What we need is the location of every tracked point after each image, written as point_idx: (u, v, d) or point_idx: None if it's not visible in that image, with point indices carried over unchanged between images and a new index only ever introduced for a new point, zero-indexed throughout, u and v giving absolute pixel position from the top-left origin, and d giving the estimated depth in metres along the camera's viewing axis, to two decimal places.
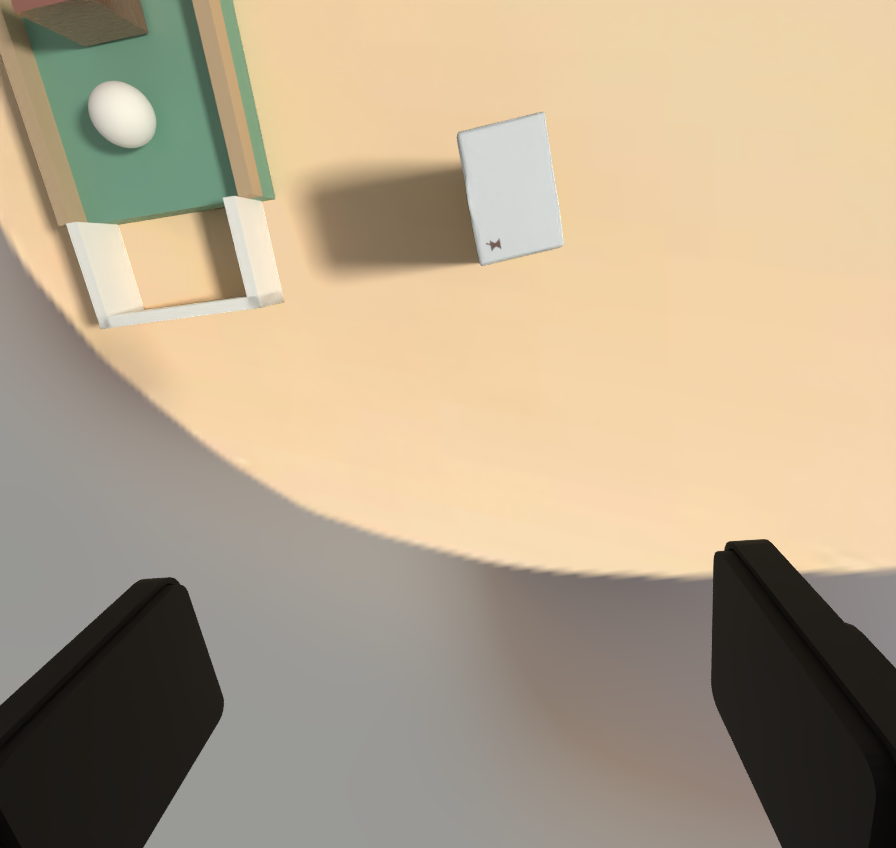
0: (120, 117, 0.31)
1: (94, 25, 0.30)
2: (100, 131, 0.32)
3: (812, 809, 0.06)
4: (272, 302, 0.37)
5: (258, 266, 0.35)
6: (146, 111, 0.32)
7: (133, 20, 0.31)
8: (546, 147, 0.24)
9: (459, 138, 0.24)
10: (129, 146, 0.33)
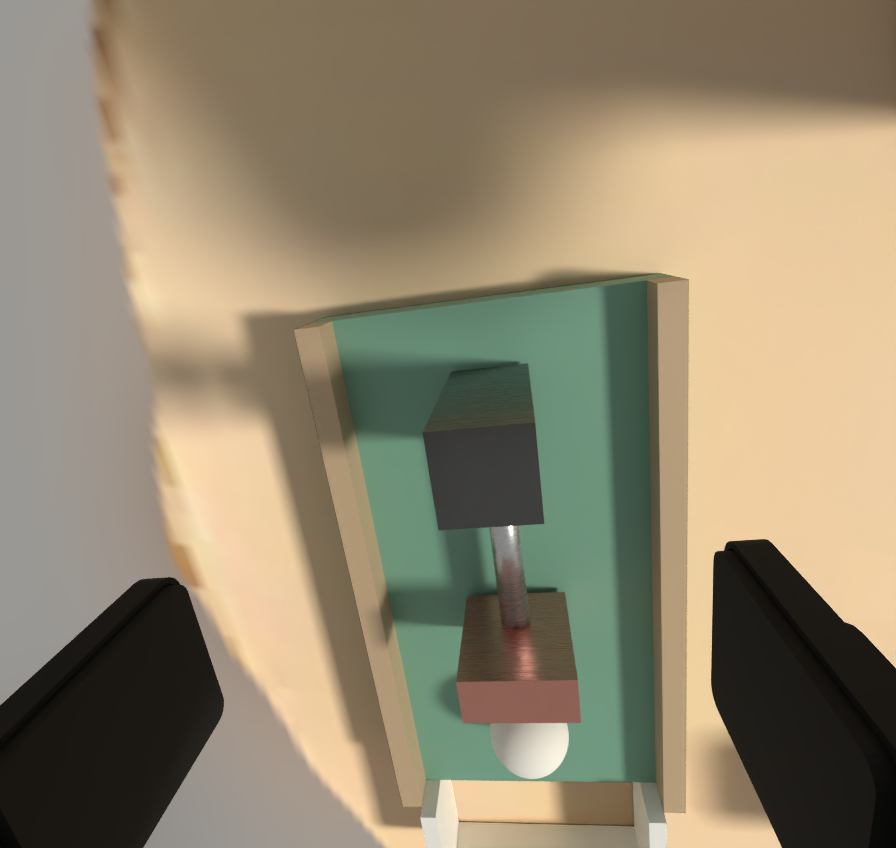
0: (548, 772, 0.23)
1: None
2: (509, 770, 0.24)
3: (812, 809, 0.06)
4: None
5: None
6: (568, 739, 0.24)
7: None
8: None
9: None
10: None
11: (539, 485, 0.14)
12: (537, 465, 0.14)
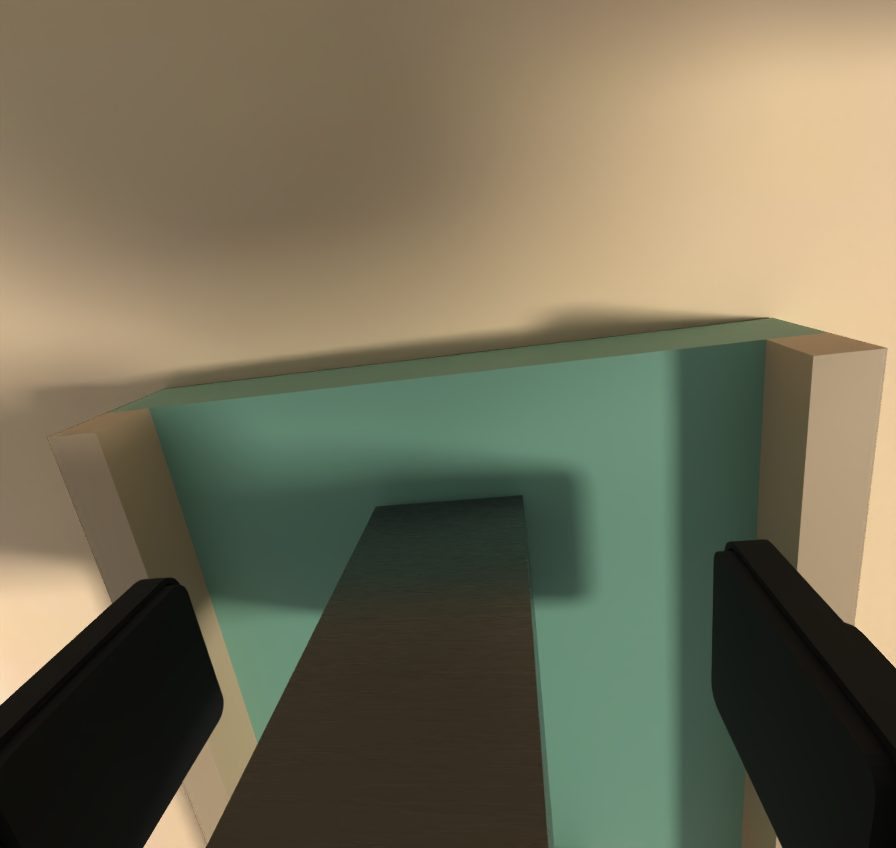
0: None
1: None
2: None
3: (812, 808, 0.06)
4: None
5: None
6: None
7: None
8: None
9: None
10: None
11: None
12: None
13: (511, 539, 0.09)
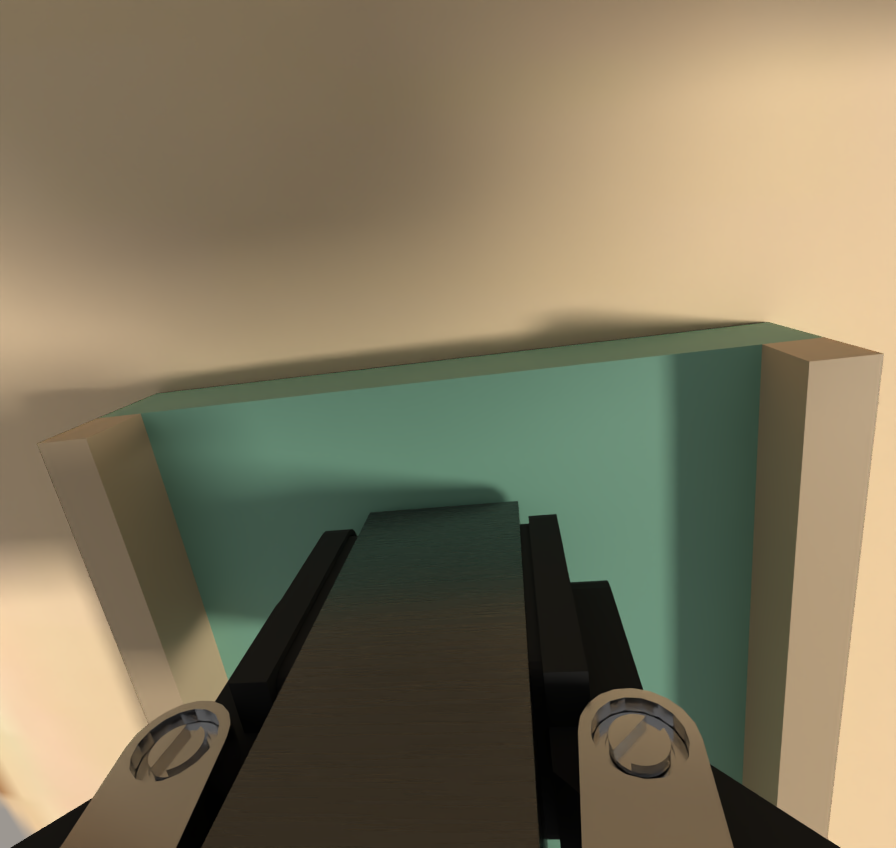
0: None
1: None
2: None
3: None
4: None
5: None
6: None
7: None
8: None
9: None
10: None
11: None
12: None
13: (506, 546, 0.09)
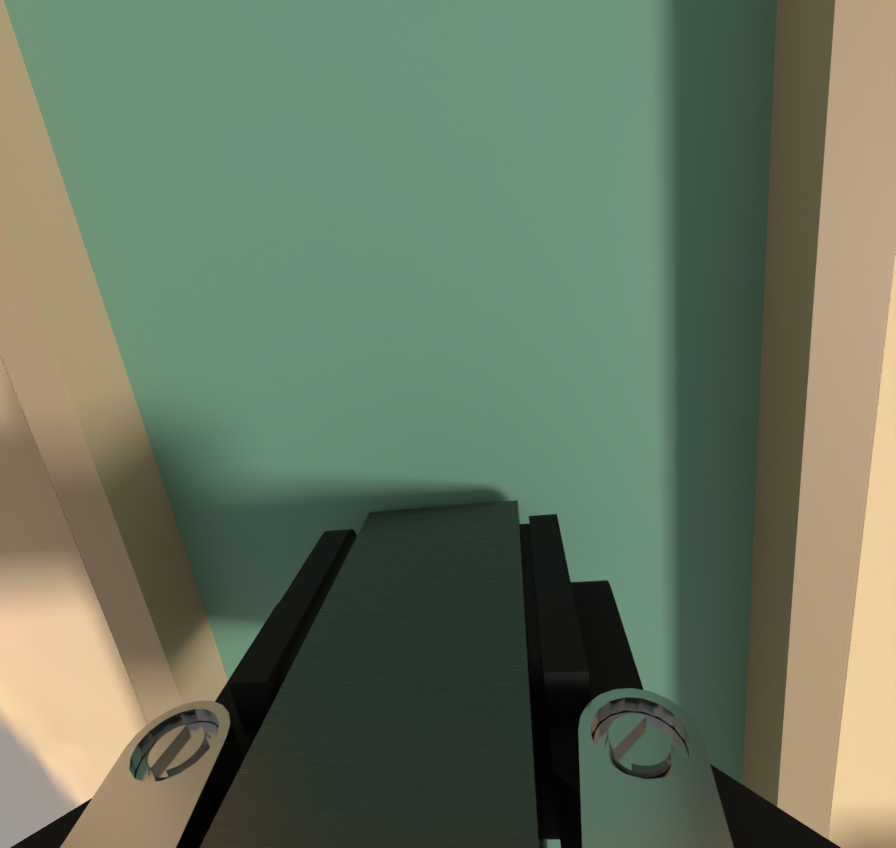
0: None
1: None
2: None
3: None
4: None
5: None
6: None
7: None
8: None
9: None
10: None
11: None
12: None
13: (505, 545, 0.09)
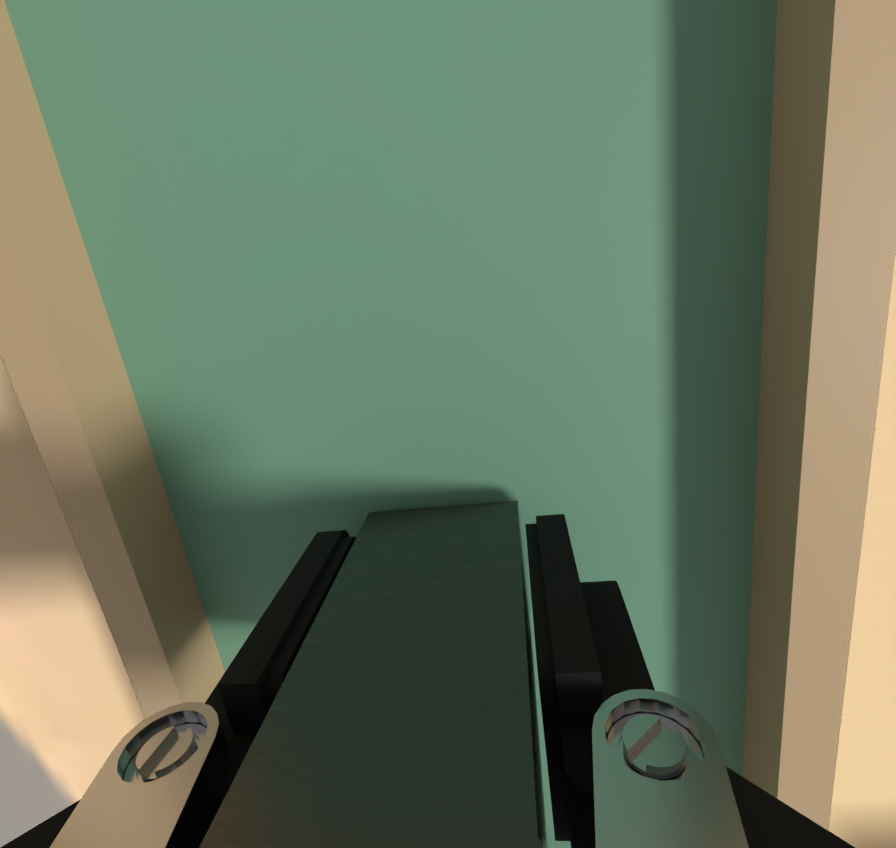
0: None
1: None
2: None
3: None
4: None
5: None
6: None
7: None
8: None
9: None
10: None
11: None
12: None
13: (505, 546, 0.09)
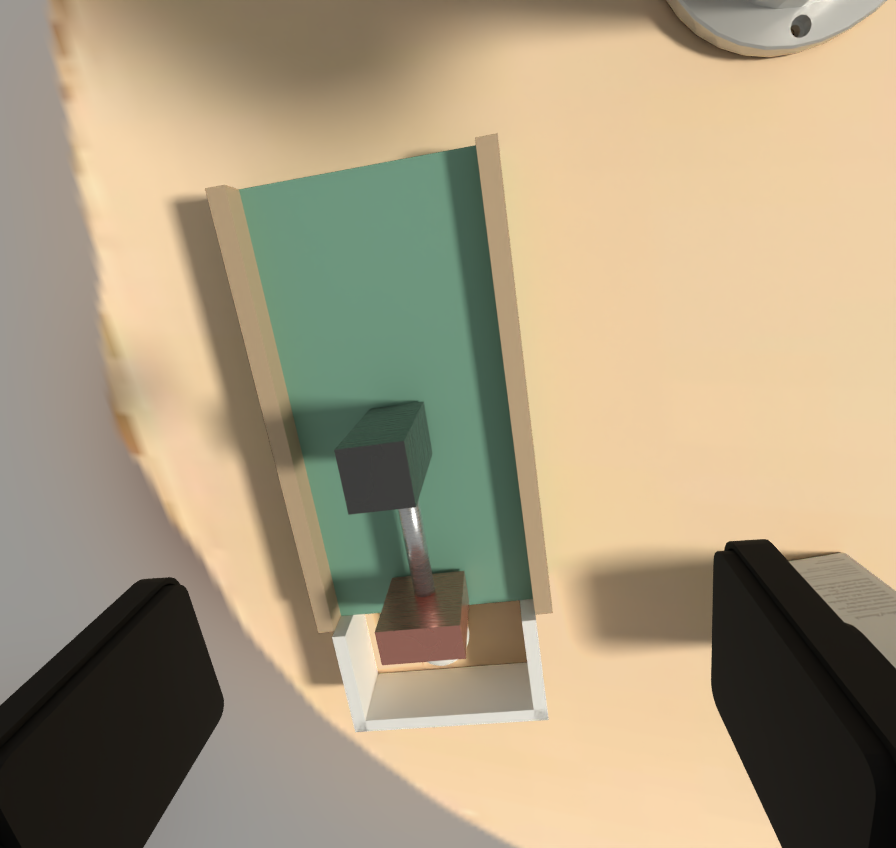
0: None
1: None
2: None
3: (812, 809, 0.06)
4: None
5: None
6: None
7: (467, 611, 0.30)
8: None
9: None
10: None
11: (410, 481, 0.22)
12: (407, 468, 0.22)
13: (415, 409, 0.27)
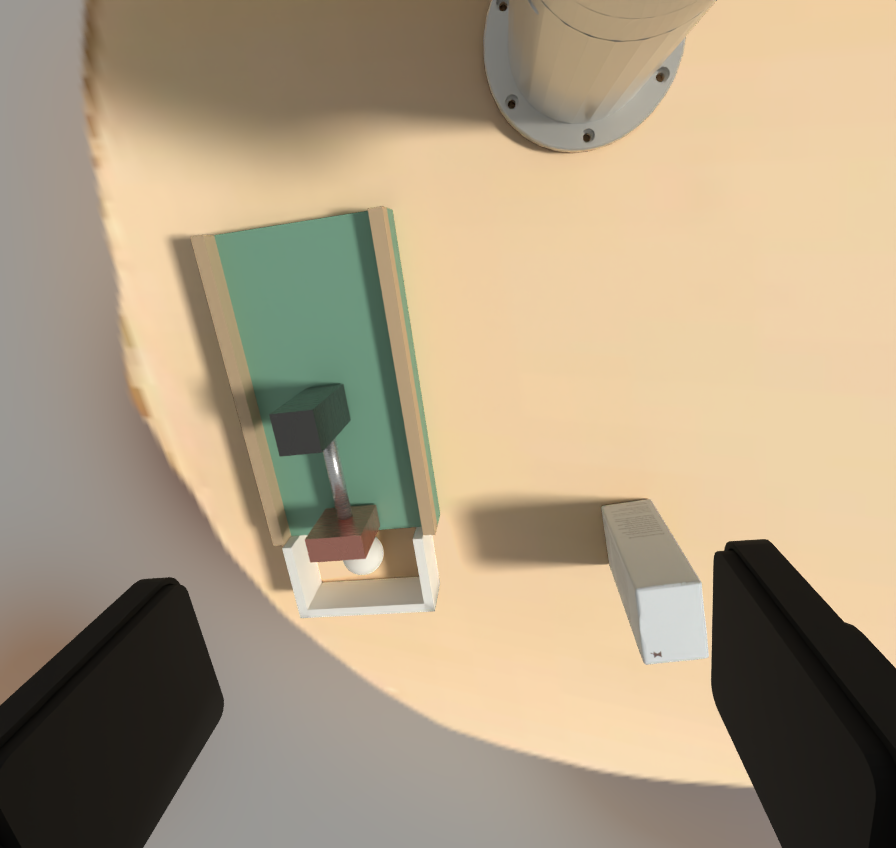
0: None
1: None
2: None
3: (812, 809, 0.06)
4: (437, 595, 0.46)
5: (431, 576, 0.45)
6: (381, 549, 0.46)
7: (376, 532, 0.43)
8: (701, 603, 0.33)
9: (637, 593, 0.33)
10: (356, 559, 0.44)
11: (317, 436, 0.35)
12: (315, 427, 0.34)
13: (334, 389, 0.39)
